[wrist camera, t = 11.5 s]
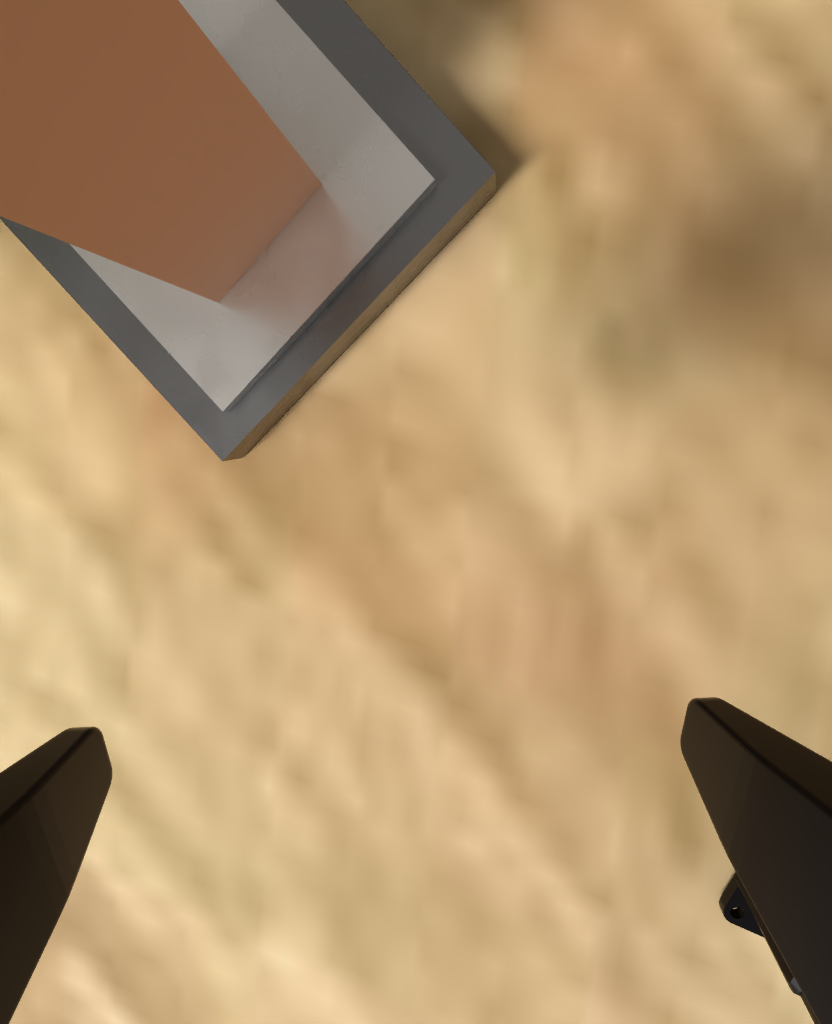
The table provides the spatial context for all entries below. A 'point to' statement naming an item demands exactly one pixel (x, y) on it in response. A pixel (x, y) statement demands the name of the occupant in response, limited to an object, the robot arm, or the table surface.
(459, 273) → the table surface
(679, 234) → the table surface
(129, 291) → the arbor press
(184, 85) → the block
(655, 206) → the table surface
